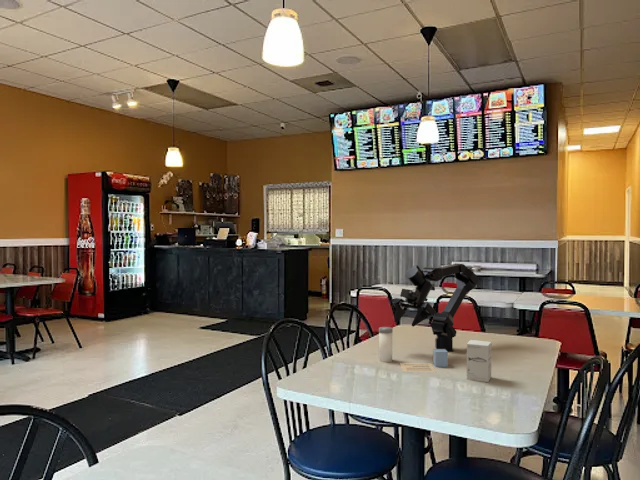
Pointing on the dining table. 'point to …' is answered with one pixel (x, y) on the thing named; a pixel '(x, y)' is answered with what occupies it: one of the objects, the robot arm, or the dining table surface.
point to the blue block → (440, 357)
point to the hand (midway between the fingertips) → (403, 324)
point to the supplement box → (479, 360)
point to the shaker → (385, 344)
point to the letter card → (417, 367)
